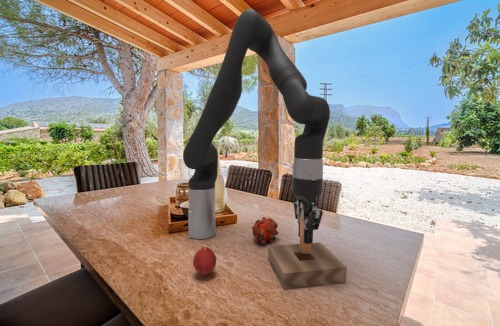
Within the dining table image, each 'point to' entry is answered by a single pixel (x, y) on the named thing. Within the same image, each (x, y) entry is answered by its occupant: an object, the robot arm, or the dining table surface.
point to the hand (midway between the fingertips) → (305, 239)
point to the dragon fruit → (265, 230)
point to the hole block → (305, 266)
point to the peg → (302, 246)
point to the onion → (204, 261)
